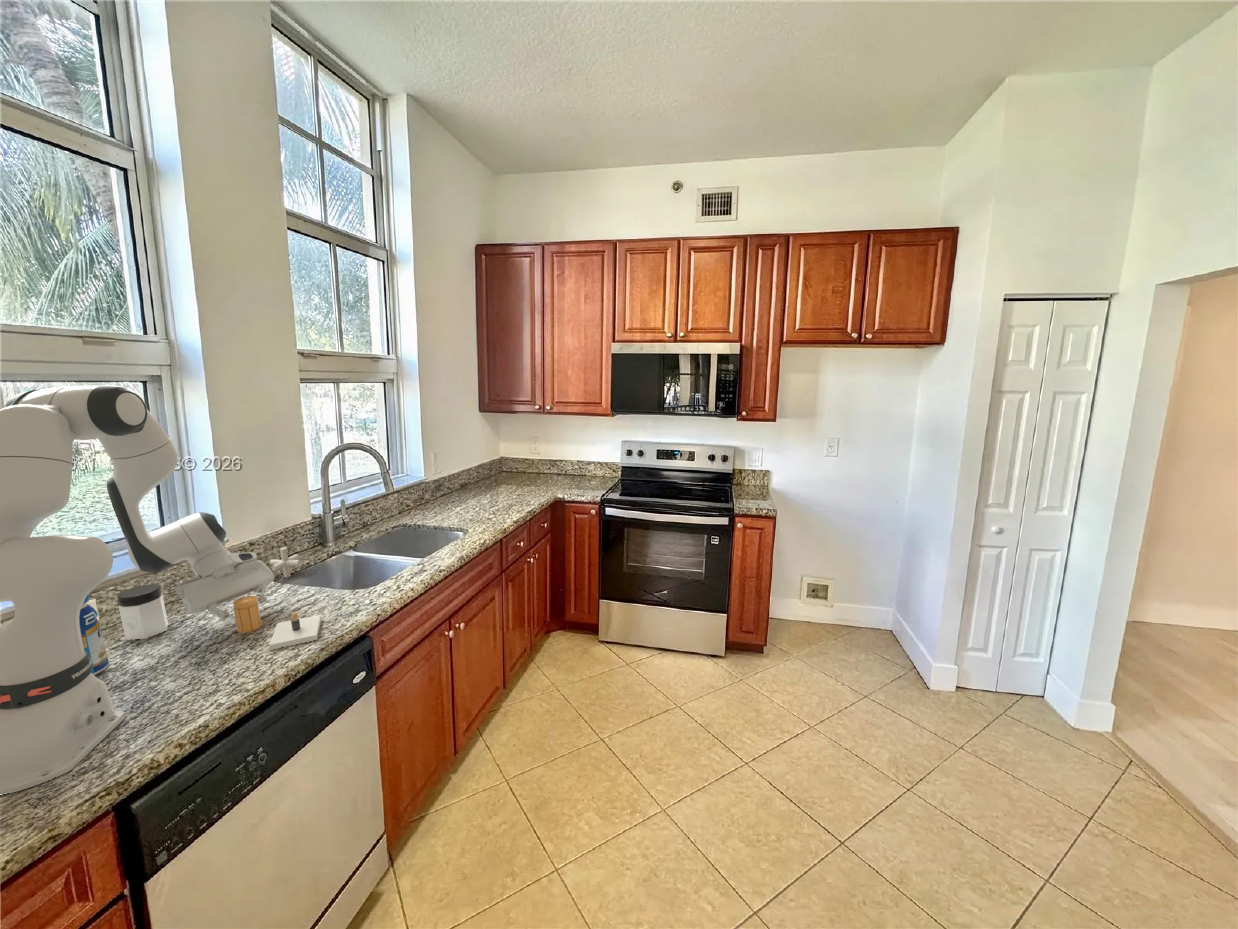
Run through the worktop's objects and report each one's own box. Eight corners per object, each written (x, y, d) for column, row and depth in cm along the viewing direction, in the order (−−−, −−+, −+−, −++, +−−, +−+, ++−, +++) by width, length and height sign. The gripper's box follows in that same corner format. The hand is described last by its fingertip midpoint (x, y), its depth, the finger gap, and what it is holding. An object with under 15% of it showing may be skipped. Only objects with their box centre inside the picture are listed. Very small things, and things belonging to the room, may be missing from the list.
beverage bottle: (47, 680, 110) (26, 598, 107) (96, 659, 118) (77, 582, 114) (71, 687, 108) (50, 603, 104) (119, 665, 116) (101, 586, 112)
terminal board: (317, 640, 126) (314, 618, 124) (270, 650, 121) (266, 627, 120) (321, 619, 136) (318, 599, 135) (278, 628, 132) (275, 607, 131)
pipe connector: (311, 570, 170) (307, 543, 168) (290, 583, 160) (285, 554, 158) (285, 570, 171) (281, 542, 169) (262, 582, 161) (257, 553, 159)
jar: (115, 642, 126) (105, 598, 124) (141, 626, 134) (132, 585, 132) (154, 639, 127) (145, 596, 125) (177, 623, 135) (169, 582, 133)
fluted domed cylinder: (259, 629, 131) (254, 602, 130) (236, 634, 129) (231, 606, 127) (262, 621, 136) (258, 594, 134) (240, 625, 133) (235, 598, 132)
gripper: (174, 578, 123) (203, 621, 121) (260, 550, 141) (287, 587, 139) (167, 591, 125) (196, 634, 123) (253, 562, 144) (279, 599, 142)
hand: (245, 609), depth 131 cm, fingers open, 8 cm apart
